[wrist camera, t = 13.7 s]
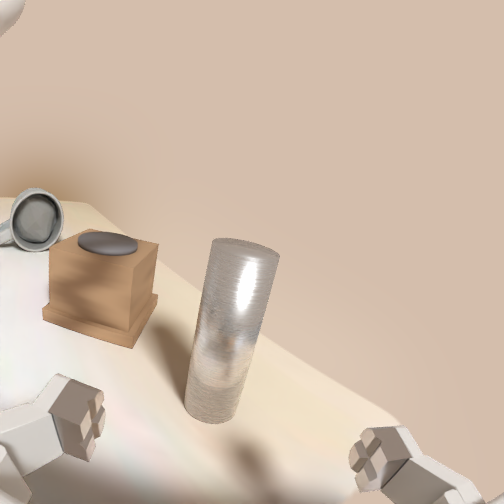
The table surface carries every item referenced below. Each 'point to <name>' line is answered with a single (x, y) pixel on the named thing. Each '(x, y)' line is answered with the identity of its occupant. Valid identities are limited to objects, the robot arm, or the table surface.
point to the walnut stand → (102, 285)
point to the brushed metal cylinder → (228, 326)
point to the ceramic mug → (33, 221)
